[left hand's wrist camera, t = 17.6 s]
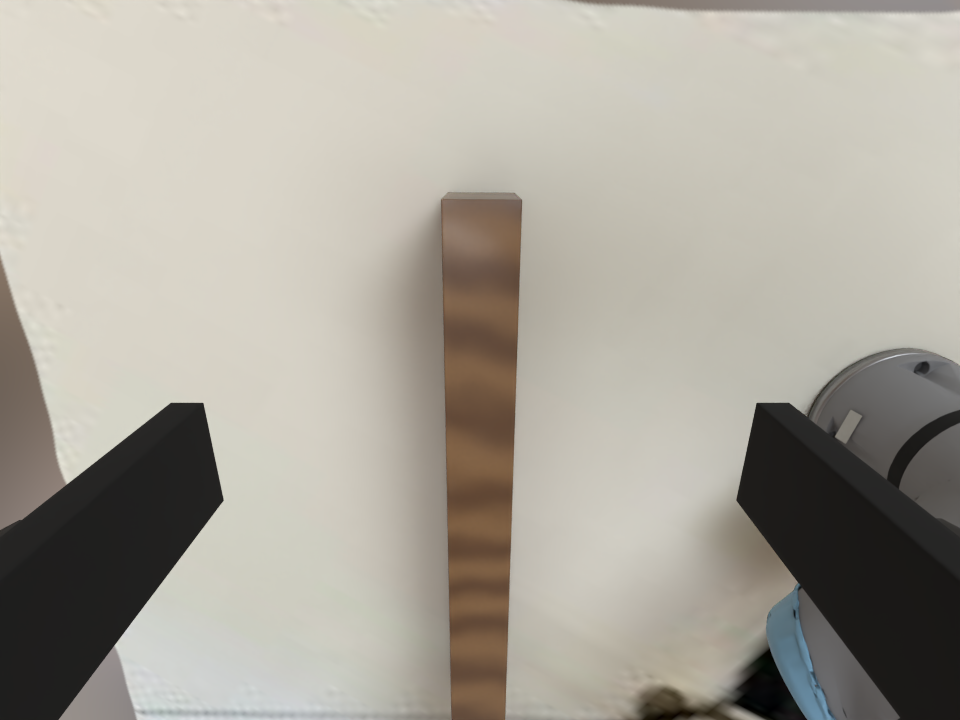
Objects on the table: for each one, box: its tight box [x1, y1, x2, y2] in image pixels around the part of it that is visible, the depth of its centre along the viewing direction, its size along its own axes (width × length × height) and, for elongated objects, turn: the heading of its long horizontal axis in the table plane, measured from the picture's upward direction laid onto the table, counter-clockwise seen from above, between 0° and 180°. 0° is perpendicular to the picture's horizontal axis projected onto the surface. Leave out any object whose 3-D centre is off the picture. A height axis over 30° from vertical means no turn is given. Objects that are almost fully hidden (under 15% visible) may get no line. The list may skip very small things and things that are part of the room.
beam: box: [441, 193, 522, 720], centre depth 50 cm, size 57×6×8 cm, turn 0°
